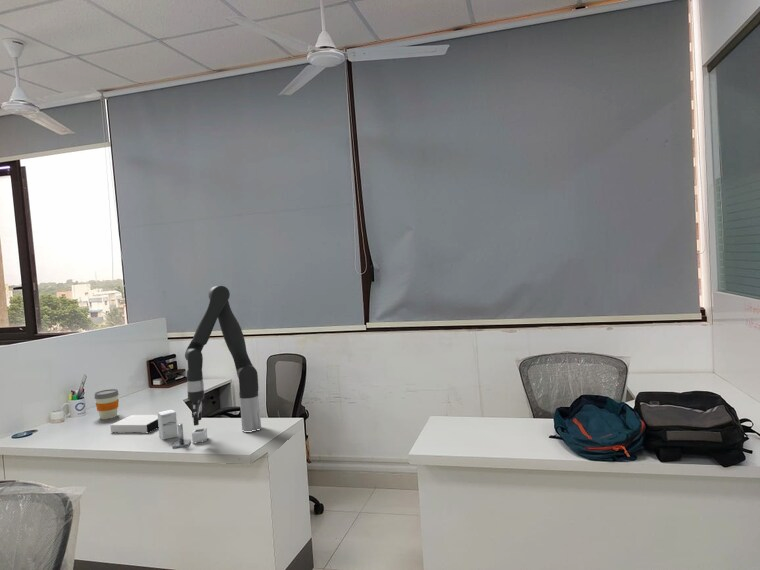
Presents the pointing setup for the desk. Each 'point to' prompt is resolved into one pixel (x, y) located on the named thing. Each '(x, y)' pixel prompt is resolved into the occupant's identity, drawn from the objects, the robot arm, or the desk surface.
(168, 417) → the supplement box
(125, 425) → the disc drive
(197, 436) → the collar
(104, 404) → the reusable coffee cup
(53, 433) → the desk surface
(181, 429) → the grey peg stand
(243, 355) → the robot arm
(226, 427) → the desk surface
